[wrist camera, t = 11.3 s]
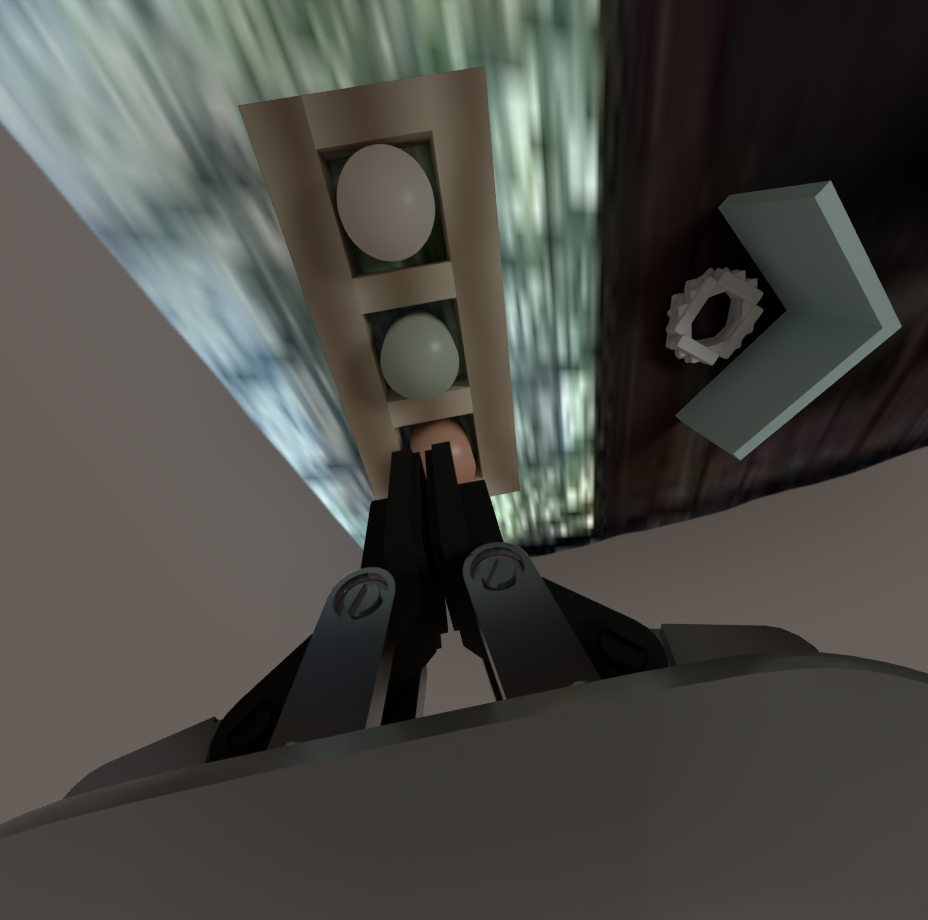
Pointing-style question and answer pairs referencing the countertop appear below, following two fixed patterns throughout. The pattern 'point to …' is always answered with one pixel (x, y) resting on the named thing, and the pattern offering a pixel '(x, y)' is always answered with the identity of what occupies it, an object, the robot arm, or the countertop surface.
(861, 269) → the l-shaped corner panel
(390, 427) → the wooden rectangular frame
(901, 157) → the countertop surface
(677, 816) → the robot arm
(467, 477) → the brown egg
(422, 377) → the pale green egg
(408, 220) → the beige egg
